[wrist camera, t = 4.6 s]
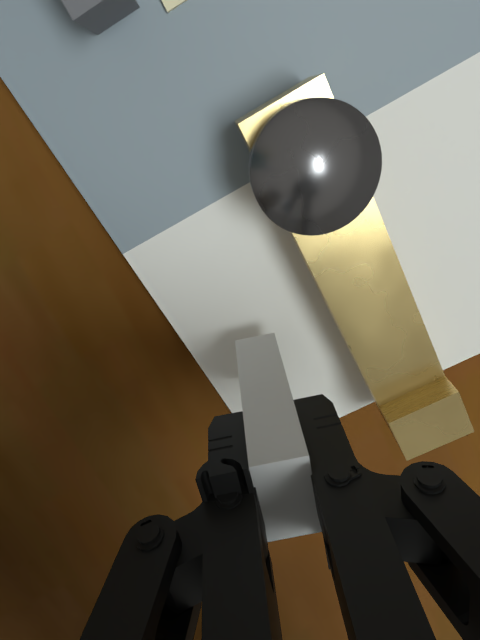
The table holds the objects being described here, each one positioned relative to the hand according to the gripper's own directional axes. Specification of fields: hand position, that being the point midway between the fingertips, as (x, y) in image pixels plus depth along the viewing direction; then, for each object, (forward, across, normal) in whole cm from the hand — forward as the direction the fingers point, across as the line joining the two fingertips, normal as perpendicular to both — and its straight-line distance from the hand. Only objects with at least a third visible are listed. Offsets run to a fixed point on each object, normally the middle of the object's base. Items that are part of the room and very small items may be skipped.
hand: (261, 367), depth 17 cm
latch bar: (+1, +4, +3) cm, 5 cm away
